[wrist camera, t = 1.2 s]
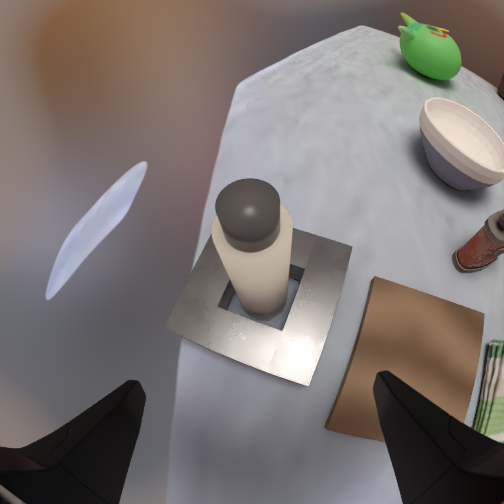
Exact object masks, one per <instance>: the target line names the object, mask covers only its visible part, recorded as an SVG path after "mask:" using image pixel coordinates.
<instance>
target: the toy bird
mask: <svg viewBox="0 0 504 504" xmlns="http://www.w3.org/2000/svg"><path fill="white" fill-rule="evenodd" d="M401 16H402V17H403V19H404V21H405V22H406V24H407V26H408V27H404V26H398V29H399V31H400V32H401V33H402V34H401V37H400V48H401V52H402V54H403V56H404V58H405V60H406V61H407V62H408V64H409V65H410V66H411V67H412V68H413V69H415V70H416V71H418V72H419V73H421V74H423V75H425V76H427V77H430V78H433V79H438V80H447V79H451V78H453V77H454V76H456V75H457V73H458V72H459V70H460V67H461V54H460V51H459V48H458V46H457V44H456V43H455V42H454V40H453V39H452V38H451V37H450V36H449V35H448V34H446V33H445V32H449V31H448V30H445V29H442V28H438V27H435V26H432V25H428V24H419V23H418V22H416V21H415V20H413V19H412V18H411V17H409V16H408V15H406V14H404V13H401Z"/></svg>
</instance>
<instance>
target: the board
mask: <svg viewBox="0 0 504 504" xmlns="http://www.w3.org/2000/svg"><path fill="white" fill-rule="evenodd" d="M483 326H484V313H481V312H478V311H476V310H473V309H470V308H467V307H464V306H461V305H458V304H456V303H453V302H450V301H447V300H444V299H441V298H438V297H435V296H432V295H430V294H427V293H424V292H421V291H418V290H415V289H412V288H409V287H406V286H403V285H400V284H397V283H394V282H391V281H388V280H385V279H382V278H379V277H376V276H375V277H374V278H373V279H372V281H371V286H370V290H369V294H368V298H367V302H366V306H365V310H364V314H363V318H362V321H361V325H360V329H359V332H358V336H357V339H356V342H355V346H354V349H353V352H352V355H351V358H350V361H349V364H348V367H347V370H346V373H345V376H344V379H343V382H342V384H341V387H340V390H339V392H338V395H337V398H336V400H335V403H334V405H333V408H332V410H331V413H330V415H329V418H328V420H327V422H326V425H325V428H326V429H328V430H332V431H336V432H340V433H345V434H349V435H354V436H359V437H364V438H369V439H374V440H380V441H385V439H384V436H383V433H382V430H381V427H380V423H379V418H378V413H377V408H376V403H375V399H374V394H373V385H374V381H375V378H376V374H377V372H379V371H384V370H388V371H390V372H391V373H393V374H394V375H395V376H397V377H398V378H400V379H401V380H402V381H404V382H405V383H407V384H408V385H409V386H411V387H412V388H414V389H415V390H416V391H418V392H419V393H421V394H422V395H423V396H425V397H426V398H428V399H429V400H430V401H432V402H433V403H435V404H436V405H438V406H439V407H440V408H442V409H443V410H445V411H446V412H447V413H449V414H450V415H452V416H453V417H455V418H456V419H458V420H459V421H461V422H462V423H464V420H465V416H466V413H467V410H468V406H469V402H470V399H471V395H472V391H473V387H474V382H475V378H476V373H477V368H478V362H479V356H480V350H481V343H482V335H483Z"/></svg>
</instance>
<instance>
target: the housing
mask: <svg viewBox="0 0 504 504" xmlns="http://www.w3.org/2000/svg"><path fill="white" fill-rule="evenodd" d="M351 251H352V246H349V245H346V244H343V243H339V242H336V241H333V240H330V239H327V238H324V237H321V236H317V235H314V234H311V233H308V232H304V231H301V230H298V229H295V228H293V230H292V244H291V256H290V268H289V277H290V278H293V279H296V280H299V281H301V282H300V285H299V288H298V291H297V293H296V296H295V299H294V302H293V304H292V307H291V310H290V312H289V315H288V318H287V320H286V323H285V326H284V328H283V331H280V330H278V329H275V328H272V327H269V326H266V325H264V324H261V323H258V322H256V321H253V320H250V319H248V318H245V317H242V316H240V315H237V314H234V313H232V312H229V311H227V308H228V306H229V304H230V302H231V299H232V297H233V295H234V293H235V289H234V287H233V285H232V283H231V280H230V278H229V276H228V274H227V271H226V269H225V267H224V265H223V263H222V260H221V258H220V256H219V254H218V251H217V249H216V247H215V245H214V242H213V239H212V234H211V236H210V238H209V239H208V241H207V243H206V245H205V247H204V249H203V251H202V253H201V255H200V257H199V259H198V261H197V263H196V265H195V267H194V269H193V270H192V272H191V274H190V276H189V278H188V280H187V282H186V284H185V286H184V288H183V290H182V292H181V295H180V297H179V299H178V301H177V303H176V305H175V307H174V309H173V311H172V313H171V315H170V317H169V320H168V322H167V324H166V326H165V328H166V329H168V330H170V331H172V332H174V333H176V334H178V335H180V336H182V337H184V338H186V339H188V340H190V341H193V342H195V343H197V344H199V345H201V346H203V347H206V348H208V349H210V350H212V351H215V352H217V353H219V354H222V355H224V356H226V357H229V358H231V359H234V360H236V361H239V362H241V363H244V364H246V365H249V366H251V367H254V368H256V369H259V370H262V371H264V372H267V373H270V374H273V375H275V376H278V377H281V378H284V379H287V380H290V381H293V382H296V383H299V384H302V385H305V386H309V384H310V381H311V379H312V376H313V373H314V371H315V368H316V365H317V363H318V360H319V357H320V354H321V352H322V349H323V346H324V343H325V340H326V337H327V334H328V331H329V328H330V325H331V322H332V319H333V315H334V312H335V309H336V306H337V302H338V299H339V296H340V292H341V289H342V285H343V281H344V278H345V274H346V270H347V267H348V263H349V259H350V255H351Z"/></svg>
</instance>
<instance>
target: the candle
mask: <svg viewBox="0 0 504 504" xmlns="http://www.w3.org/2000/svg"><path fill="white" fill-rule="evenodd" d="M497 91H498V92H499V93H500V95H501V96H502V97H503V98H504V73H503V76H502V79H501V81H500V84H499V86H498V89H497Z"/></svg>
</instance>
